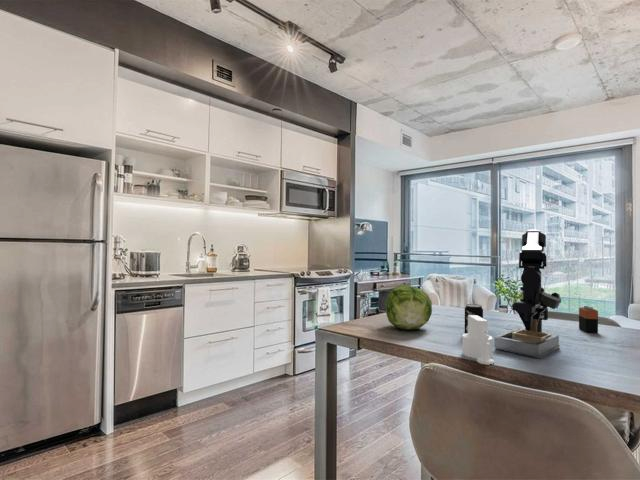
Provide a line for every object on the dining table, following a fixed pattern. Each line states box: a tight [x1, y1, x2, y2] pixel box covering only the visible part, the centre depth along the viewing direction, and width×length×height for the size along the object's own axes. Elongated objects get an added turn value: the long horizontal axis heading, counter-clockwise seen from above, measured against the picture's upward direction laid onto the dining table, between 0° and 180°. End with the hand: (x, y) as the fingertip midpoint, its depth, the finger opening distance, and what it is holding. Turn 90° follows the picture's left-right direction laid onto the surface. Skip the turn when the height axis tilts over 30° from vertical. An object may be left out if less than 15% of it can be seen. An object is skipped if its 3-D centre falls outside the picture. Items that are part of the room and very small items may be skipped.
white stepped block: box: [461, 315, 493, 359], centre depth 121 cm, size 9×9×12 cm
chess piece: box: [476, 328, 495, 366], centre depth 114 cm, size 5×5×10 cm
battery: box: [578, 305, 599, 334], centre depth 153 cm, size 4×7×10 cm, turn 168°
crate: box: [512, 319, 553, 344], centre depth 131 cm, size 8×10×8 cm
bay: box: [493, 327, 560, 359], centre depth 128 cm, size 19×14×4 cm
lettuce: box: [384, 284, 433, 331], centre depth 156 cm, size 19×23×18 cm
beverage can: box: [464, 303, 484, 334], centre depth 145 cm, size 7×7×12 cm
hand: (531, 329), depth 131 cm, fingers open, 6 cm apart
